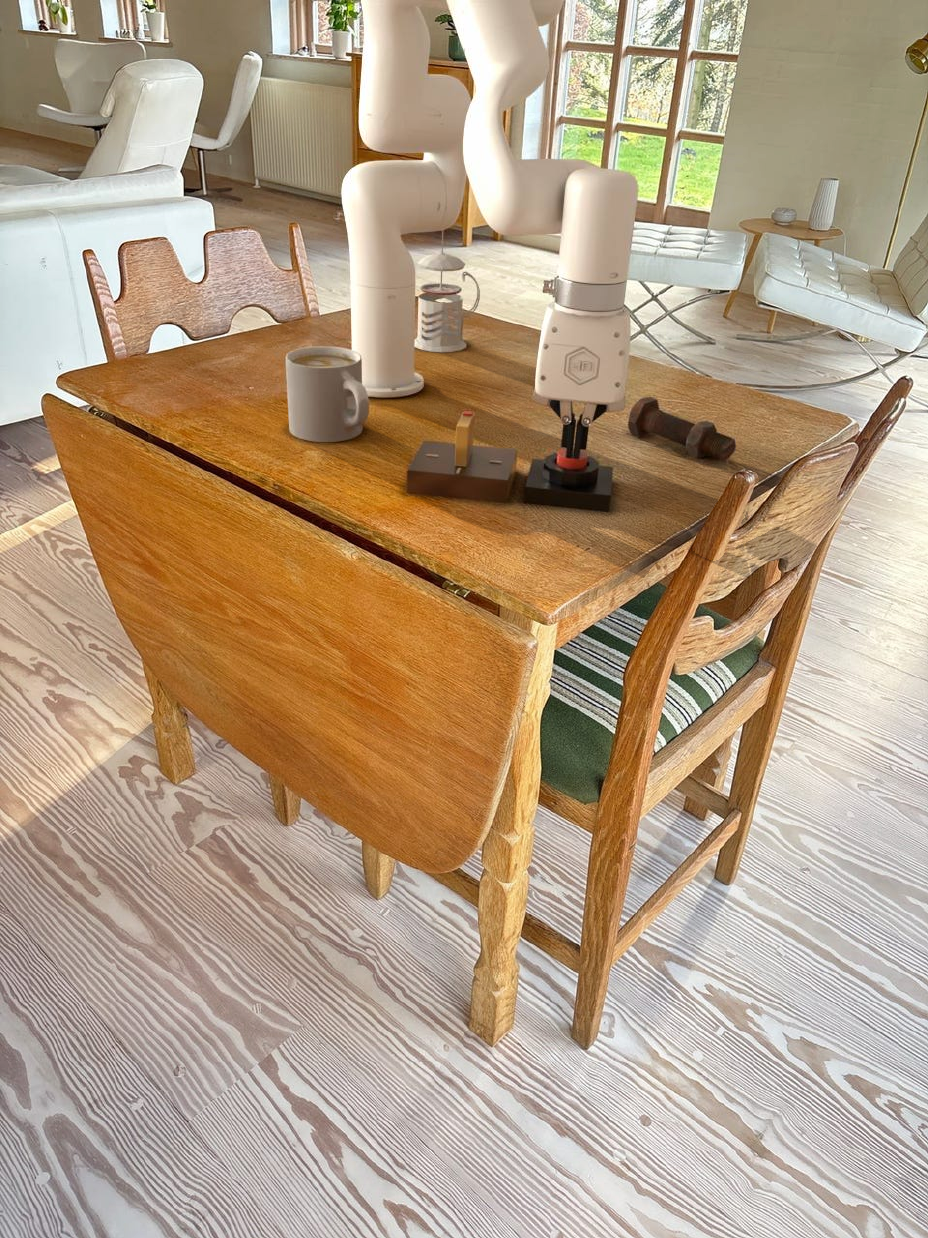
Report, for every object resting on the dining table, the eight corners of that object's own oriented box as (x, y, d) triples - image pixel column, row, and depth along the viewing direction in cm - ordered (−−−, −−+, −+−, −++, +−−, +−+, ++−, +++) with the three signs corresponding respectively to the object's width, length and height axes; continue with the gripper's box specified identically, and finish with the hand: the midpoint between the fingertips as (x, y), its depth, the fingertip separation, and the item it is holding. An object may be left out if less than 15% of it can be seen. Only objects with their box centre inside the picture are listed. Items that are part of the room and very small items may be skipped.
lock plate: (406, 493, 114) (406, 468, 112) (422, 462, 122) (423, 438, 121) (506, 503, 112) (508, 478, 111) (515, 471, 121) (517, 448, 119)
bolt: (720, 478, 126) (631, 441, 135) (743, 453, 128) (653, 418, 137) (716, 447, 122) (624, 411, 131) (739, 421, 123) (646, 388, 132)
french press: (409, 336, 173) (412, 186, 160) (473, 337, 175) (480, 188, 162) (413, 351, 165) (415, 194, 152) (480, 352, 166) (488, 197, 153)
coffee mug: (277, 423, 132) (273, 351, 127) (342, 412, 137) (340, 342, 132) (320, 455, 123) (317, 379, 118) (387, 443, 128) (388, 369, 122)
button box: (523, 503, 113) (526, 472, 111) (531, 474, 120) (533, 444, 118) (608, 512, 112) (612, 480, 109) (610, 482, 119) (614, 452, 117)
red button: (554, 471, 113) (556, 457, 112) (557, 460, 116) (558, 446, 115) (585, 474, 112) (587, 460, 112) (586, 463, 116) (588, 449, 115)
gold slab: (466, 467, 114) (468, 424, 111) (454, 465, 114) (456, 423, 111) (472, 452, 118) (474, 411, 115) (461, 450, 118) (463, 409, 115)
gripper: (518, 296, 101) (506, 459, 111) (660, 308, 100) (636, 472, 109) (525, 282, 108) (514, 437, 117) (659, 292, 106) (636, 448, 116)
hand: (573, 453), depth 113 cm, fingers closed
